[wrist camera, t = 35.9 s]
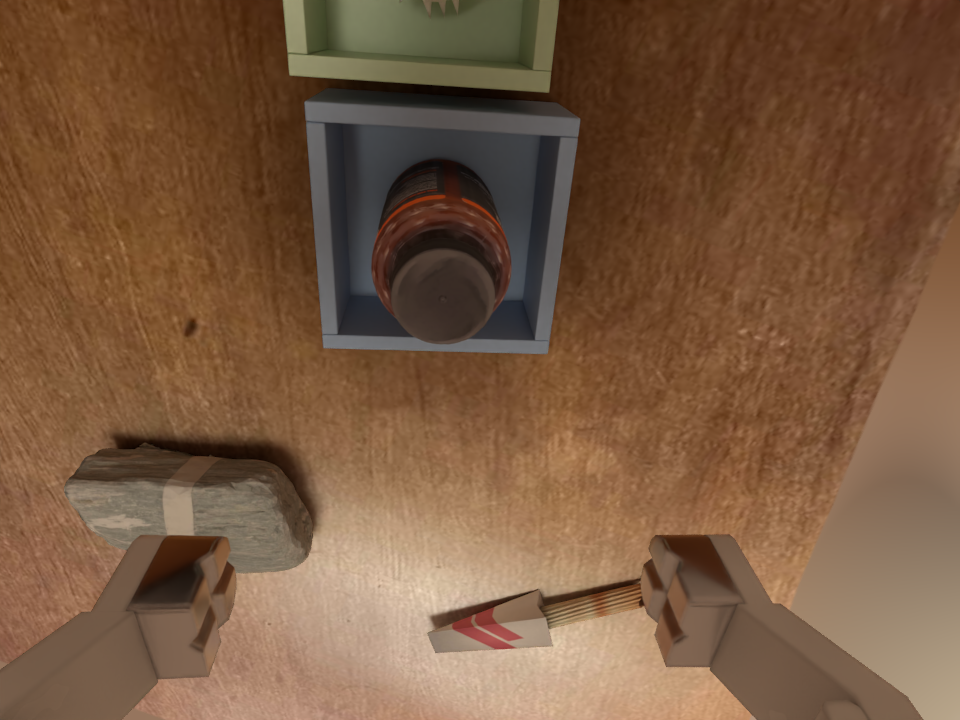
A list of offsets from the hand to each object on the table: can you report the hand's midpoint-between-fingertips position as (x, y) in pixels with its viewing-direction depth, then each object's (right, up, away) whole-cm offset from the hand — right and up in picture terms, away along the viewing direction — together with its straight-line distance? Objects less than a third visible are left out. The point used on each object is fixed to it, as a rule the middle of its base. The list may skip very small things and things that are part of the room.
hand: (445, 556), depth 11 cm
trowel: (+6, -17, +38) cm, 42 cm away
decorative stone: (-18, -5, +30) cm, 35 cm away
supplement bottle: (-2, +12, +20) cm, 24 cm away
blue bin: (-2, +12, +21) cm, 24 cm away
